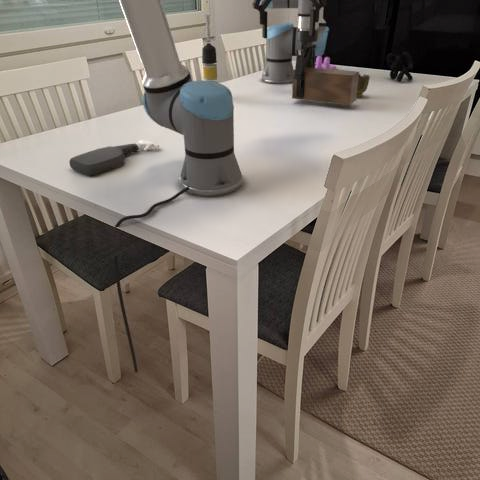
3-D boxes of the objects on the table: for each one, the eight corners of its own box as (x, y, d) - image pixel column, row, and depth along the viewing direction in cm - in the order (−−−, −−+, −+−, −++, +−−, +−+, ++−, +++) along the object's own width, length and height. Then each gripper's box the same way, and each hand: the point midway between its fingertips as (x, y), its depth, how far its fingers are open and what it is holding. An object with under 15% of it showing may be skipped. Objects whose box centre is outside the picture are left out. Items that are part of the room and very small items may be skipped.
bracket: (325, 73, 215) (326, 57, 211) (315, 71, 218) (316, 56, 214) (337, 68, 224) (338, 53, 220) (327, 67, 227) (328, 52, 223)
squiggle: (400, 92, 202) (376, 71, 205) (417, 76, 202) (392, 56, 205) (405, 81, 191) (380, 59, 194) (423, 64, 191) (397, 42, 194)
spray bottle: (67, 168, 120) (139, 144, 136) (91, 178, 114) (163, 151, 130) (65, 157, 118) (137, 134, 134) (89, 167, 112) (162, 142, 128)
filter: (220, 99, 177) (217, 15, 161) (206, 100, 176) (202, 16, 160) (215, 96, 182) (212, 14, 166) (202, 97, 180) (197, 14, 164)
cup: (345, 97, 176) (348, 76, 172) (351, 93, 181) (353, 73, 177) (364, 99, 173) (367, 78, 169) (369, 95, 178) (372, 74, 174)
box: (356, 100, 166) (359, 71, 160) (349, 105, 160) (352, 75, 155) (299, 94, 176) (301, 66, 170) (292, 98, 170) (293, 70, 165)
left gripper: (333, -55, 118) (326, 32, 129) (240, -54, 115) (242, 36, 126) (343, -56, 112) (335, 36, 123) (246, -55, 108) (247, 40, 120)
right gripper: (307, 25, 168) (304, 88, 180) (286, 32, 153) (284, 99, 165) (326, 26, 165) (321, 89, 177) (307, 33, 150) (303, 102, 162)
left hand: (288, 36), depth 124 cm, fingers open, 13 cm apart
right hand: (303, 94), depth 171 cm, fingers closed on box, 7 cm apart
